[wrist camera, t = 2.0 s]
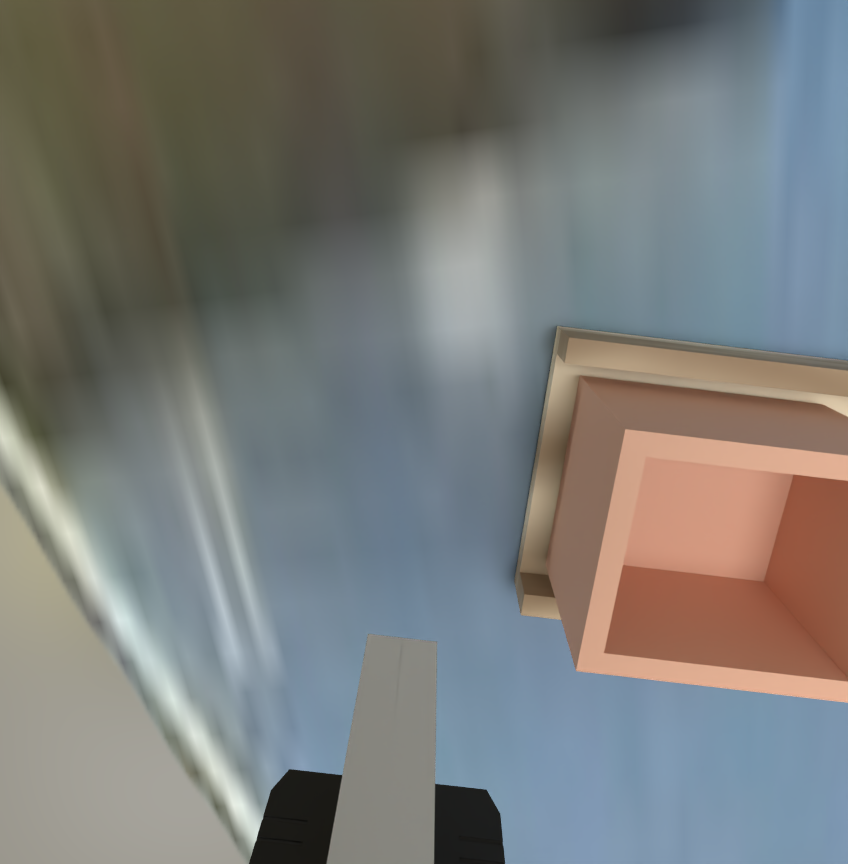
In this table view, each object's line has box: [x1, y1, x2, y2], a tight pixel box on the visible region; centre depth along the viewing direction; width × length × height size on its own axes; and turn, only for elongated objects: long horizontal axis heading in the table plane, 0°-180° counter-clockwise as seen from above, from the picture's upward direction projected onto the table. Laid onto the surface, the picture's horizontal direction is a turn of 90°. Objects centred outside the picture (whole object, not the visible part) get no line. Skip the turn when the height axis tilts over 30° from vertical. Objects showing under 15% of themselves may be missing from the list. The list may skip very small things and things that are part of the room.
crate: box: [546, 375, 848, 703], centre depth 27 cm, size 9×10×8 cm
